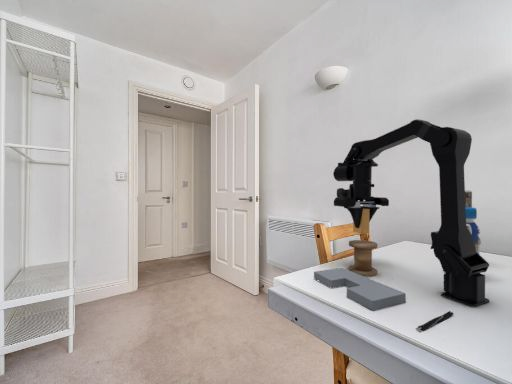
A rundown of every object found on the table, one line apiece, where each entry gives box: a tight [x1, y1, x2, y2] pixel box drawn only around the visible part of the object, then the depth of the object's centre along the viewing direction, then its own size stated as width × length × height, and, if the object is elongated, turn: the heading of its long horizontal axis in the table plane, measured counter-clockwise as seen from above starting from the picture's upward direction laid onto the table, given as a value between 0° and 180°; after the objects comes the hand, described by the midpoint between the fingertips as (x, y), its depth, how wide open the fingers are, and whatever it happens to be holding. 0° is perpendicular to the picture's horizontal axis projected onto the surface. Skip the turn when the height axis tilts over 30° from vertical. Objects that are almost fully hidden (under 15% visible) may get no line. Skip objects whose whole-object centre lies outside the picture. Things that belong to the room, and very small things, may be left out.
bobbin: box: [348, 239, 378, 278], centre depth 75 cm, size 8×8×9 cm
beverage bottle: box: [444, 206, 482, 274], centre depth 73 cm, size 8×8×20 cm
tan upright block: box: [352, 208, 370, 235], centre depth 82 cm, size 4×3×8 cm
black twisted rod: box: [415, 310, 454, 333], centre depth 46 cm, size 12×1×1 cm, turn 119°
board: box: [313, 267, 407, 312], centre depth 62 cm, size 20×10×2 cm, turn 23°
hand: (361, 227), depth 82 cm, fingers closed on tan upright block, 3 cm apart
